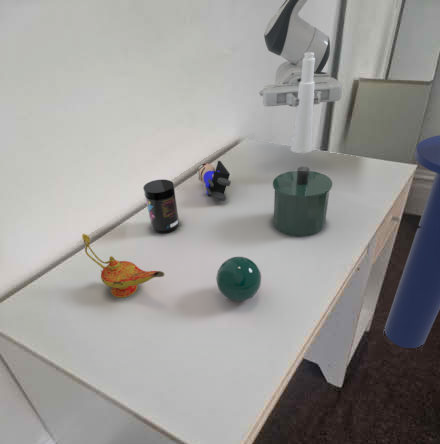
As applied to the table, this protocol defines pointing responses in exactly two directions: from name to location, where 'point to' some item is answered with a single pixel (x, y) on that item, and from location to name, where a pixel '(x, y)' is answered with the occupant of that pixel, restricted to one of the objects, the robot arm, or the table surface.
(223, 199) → the character figurine
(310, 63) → the cosmetic bottle
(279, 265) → the table surface
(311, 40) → the robot arm
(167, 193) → the supplement container
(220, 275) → the sphere
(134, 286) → the magic lamp
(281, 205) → the pot
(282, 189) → the pot lid
